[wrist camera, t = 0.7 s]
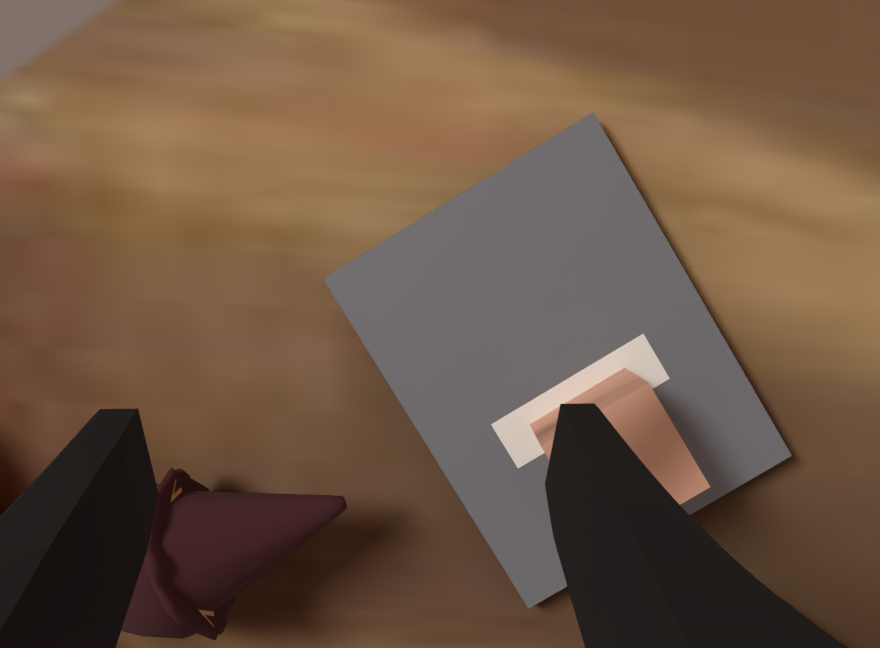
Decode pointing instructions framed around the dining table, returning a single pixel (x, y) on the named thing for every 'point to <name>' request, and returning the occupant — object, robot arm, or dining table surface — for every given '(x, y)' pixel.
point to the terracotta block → (637, 431)
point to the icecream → (214, 552)
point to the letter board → (546, 337)
